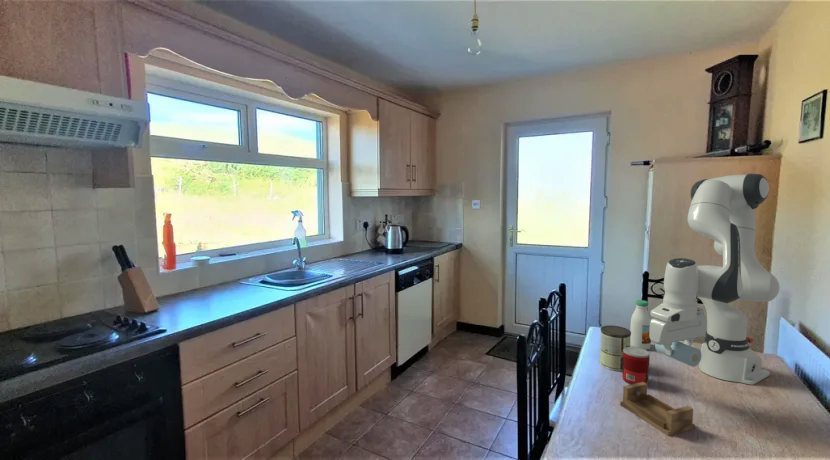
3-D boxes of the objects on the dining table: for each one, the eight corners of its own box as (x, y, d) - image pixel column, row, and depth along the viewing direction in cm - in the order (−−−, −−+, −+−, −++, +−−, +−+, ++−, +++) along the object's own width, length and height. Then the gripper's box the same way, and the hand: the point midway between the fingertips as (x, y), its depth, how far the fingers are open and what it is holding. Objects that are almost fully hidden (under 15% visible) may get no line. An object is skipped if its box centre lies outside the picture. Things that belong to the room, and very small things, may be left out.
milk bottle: (633, 349, 159) (635, 303, 157) (626, 342, 167) (628, 298, 165) (653, 350, 158) (656, 304, 156) (645, 343, 166) (647, 299, 164)
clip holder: (644, 399, 122) (645, 381, 121) (694, 428, 107) (695, 408, 106) (620, 404, 119) (620, 386, 118) (668, 435, 104) (669, 414, 103)
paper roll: (667, 350, 127) (667, 334, 126) (701, 364, 116) (701, 347, 116) (654, 353, 125) (654, 337, 125) (688, 368, 115) (688, 351, 114)
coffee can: (601, 357, 153) (602, 323, 152) (630, 363, 147) (632, 328, 146) (597, 367, 144) (599, 331, 143) (628, 374, 139) (630, 336, 137)
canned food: (652, 387, 129) (653, 356, 128) (626, 385, 131) (627, 354, 130) (643, 376, 136) (644, 347, 135) (619, 375, 138) (620, 346, 137)
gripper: (693, 303, 125) (691, 343, 127) (646, 311, 119) (644, 353, 120) (713, 309, 119) (711, 351, 121) (664, 318, 113) (663, 362, 115)
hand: (677, 352), depth 121 cm, fingers closed on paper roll, 6 cm apart
